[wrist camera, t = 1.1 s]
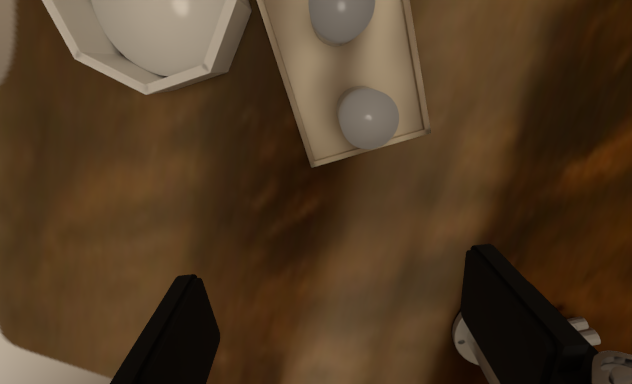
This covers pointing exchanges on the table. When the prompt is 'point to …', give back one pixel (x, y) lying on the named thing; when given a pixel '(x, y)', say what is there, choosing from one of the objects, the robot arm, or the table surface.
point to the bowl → (153, 38)
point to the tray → (346, 73)
